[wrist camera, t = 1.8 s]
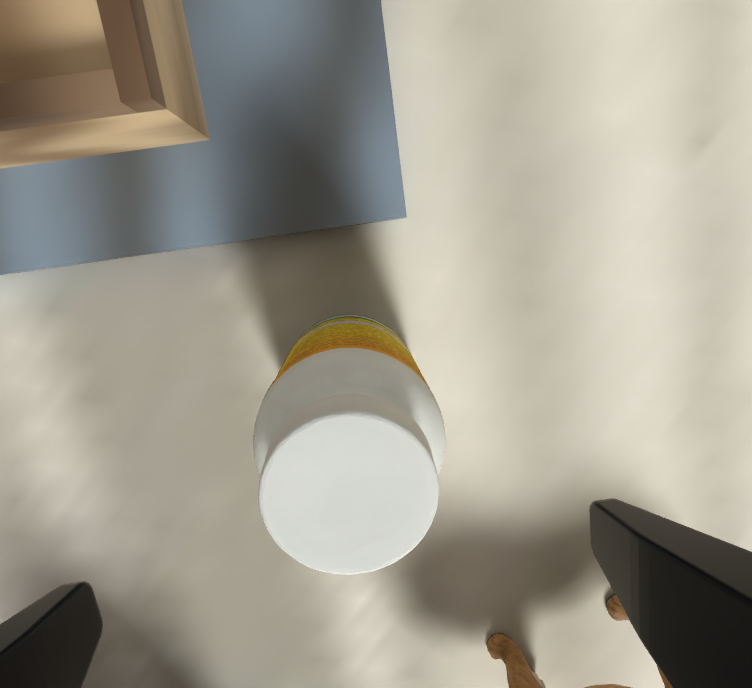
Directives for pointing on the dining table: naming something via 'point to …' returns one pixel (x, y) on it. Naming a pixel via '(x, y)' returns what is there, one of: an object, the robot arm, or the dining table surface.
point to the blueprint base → (259, 151)
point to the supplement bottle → (348, 449)
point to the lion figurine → (519, 674)
